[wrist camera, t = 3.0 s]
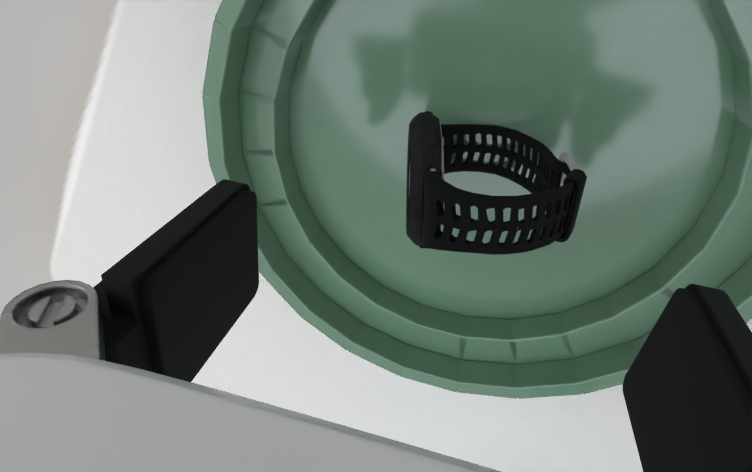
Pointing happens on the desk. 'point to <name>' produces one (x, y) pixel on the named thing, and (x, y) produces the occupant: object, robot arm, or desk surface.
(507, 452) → the desk surface
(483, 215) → the smartwatch
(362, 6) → the dish
